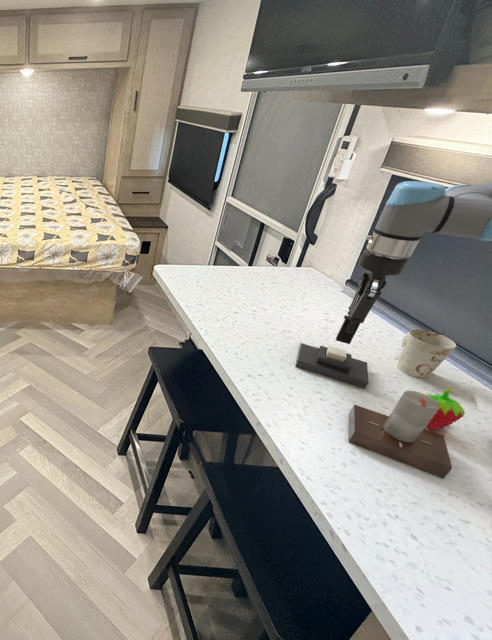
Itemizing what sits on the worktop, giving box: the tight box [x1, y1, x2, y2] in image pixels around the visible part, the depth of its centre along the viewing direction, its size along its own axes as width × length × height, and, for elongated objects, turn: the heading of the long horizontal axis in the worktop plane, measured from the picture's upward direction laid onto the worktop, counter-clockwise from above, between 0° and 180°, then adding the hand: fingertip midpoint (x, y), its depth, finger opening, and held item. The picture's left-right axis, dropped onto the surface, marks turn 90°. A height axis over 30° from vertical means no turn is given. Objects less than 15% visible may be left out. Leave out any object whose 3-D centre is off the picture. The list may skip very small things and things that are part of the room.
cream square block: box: [326, 345, 347, 362], centre depth 101 cm, size 4×4×2 cm
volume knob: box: [383, 390, 440, 443], centre depth 78 cm, size 5×5×9 cm
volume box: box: [348, 404, 453, 479], centre depth 81 cm, size 14×10×3 cm
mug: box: [396, 329, 457, 379], centre depth 102 cm, size 8×13×10 cm, turn 163°
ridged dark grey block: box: [294, 342, 369, 390], centre depth 103 cm, size 14×10×4 cm
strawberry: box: [425, 388, 466, 431], centre depth 83 cm, size 6×7×10 cm
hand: (342, 340), depth 99 cm, fingers closed
